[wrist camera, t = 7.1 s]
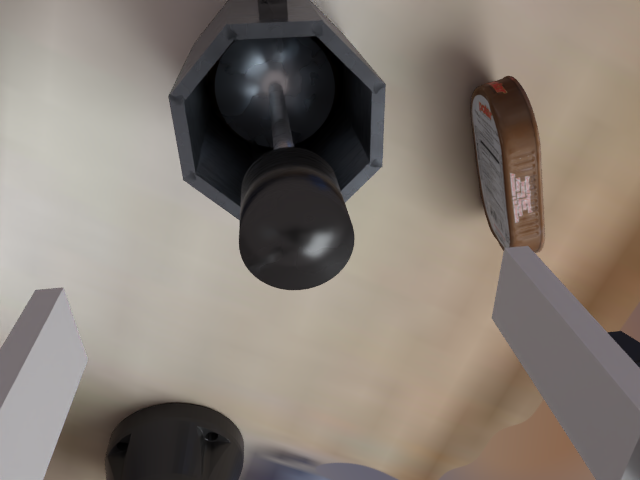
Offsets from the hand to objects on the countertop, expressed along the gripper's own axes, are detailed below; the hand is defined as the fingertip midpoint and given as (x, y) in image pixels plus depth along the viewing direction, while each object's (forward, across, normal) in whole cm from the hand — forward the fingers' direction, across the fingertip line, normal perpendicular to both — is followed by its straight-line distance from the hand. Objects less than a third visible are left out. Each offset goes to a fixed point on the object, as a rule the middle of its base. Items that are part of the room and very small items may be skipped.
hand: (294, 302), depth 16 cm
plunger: (+23, -1, -1) cm, 23 cm away
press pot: (+28, -1, -2) cm, 28 cm away
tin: (+28, -19, +7) cm, 35 cm away
